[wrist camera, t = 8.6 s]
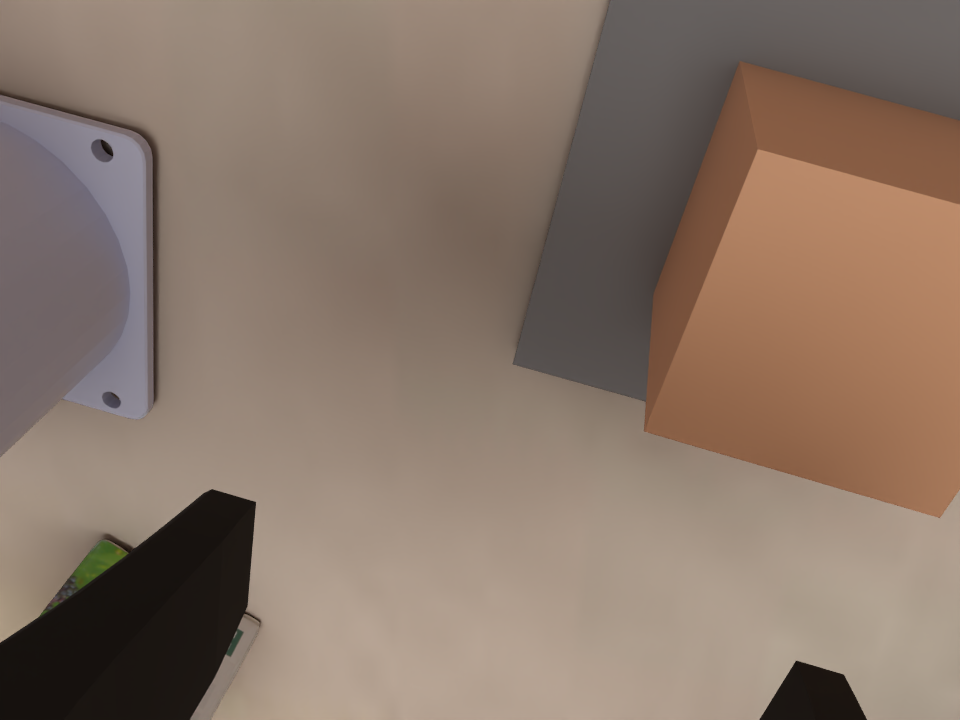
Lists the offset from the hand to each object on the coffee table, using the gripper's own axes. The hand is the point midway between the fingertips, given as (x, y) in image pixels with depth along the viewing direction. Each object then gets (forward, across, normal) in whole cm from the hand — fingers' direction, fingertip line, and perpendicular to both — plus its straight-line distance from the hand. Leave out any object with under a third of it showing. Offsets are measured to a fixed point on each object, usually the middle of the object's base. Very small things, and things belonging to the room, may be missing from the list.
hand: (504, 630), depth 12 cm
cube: (+9, -4, -3) cm, 11 cm away
